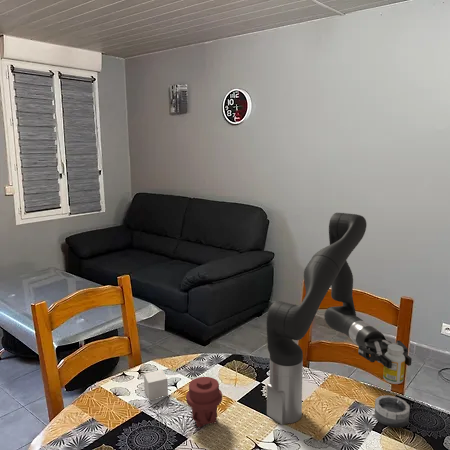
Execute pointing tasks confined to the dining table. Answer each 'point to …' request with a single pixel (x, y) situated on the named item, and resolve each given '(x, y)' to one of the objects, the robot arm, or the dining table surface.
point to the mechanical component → (204, 400)
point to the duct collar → (392, 411)
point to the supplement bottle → (395, 364)
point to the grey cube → (155, 384)
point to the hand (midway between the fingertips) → (400, 363)
